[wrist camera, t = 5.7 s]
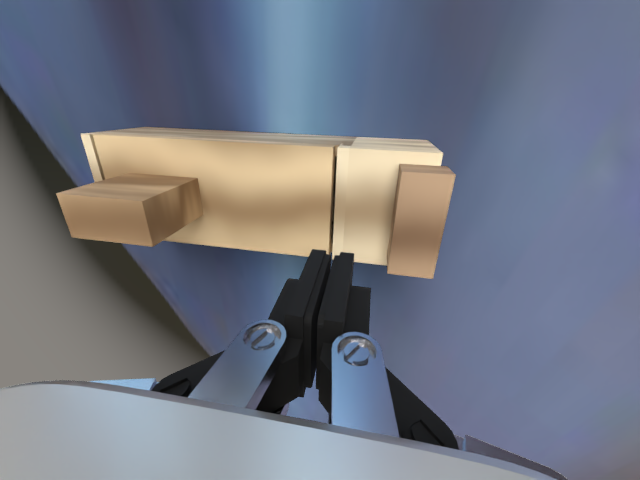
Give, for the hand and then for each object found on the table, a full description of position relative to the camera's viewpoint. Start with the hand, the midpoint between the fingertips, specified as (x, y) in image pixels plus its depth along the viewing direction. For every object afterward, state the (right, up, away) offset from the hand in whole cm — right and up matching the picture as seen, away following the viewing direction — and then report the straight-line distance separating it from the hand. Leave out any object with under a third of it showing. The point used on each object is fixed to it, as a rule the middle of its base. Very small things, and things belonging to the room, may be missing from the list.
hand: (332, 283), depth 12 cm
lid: (-9, +6, +13) cm, 16 cm away
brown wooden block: (+6, +3, +9) cm, 11 cm away
